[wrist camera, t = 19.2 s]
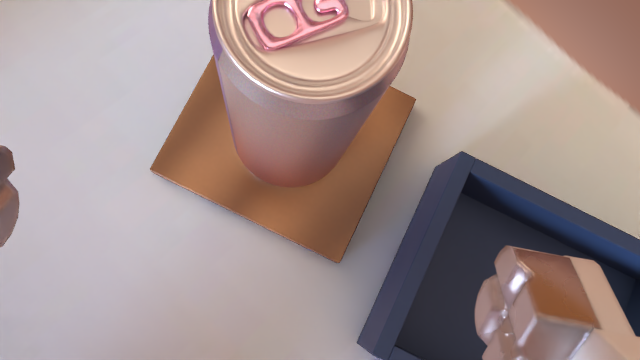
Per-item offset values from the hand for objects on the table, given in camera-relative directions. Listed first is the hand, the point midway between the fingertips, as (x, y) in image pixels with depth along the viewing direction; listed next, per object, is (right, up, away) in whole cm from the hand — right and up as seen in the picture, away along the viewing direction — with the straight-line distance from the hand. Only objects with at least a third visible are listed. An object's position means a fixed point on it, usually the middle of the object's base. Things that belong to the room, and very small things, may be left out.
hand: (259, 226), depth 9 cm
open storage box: (+11, -6, +22) cm, 25 cm away
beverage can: (-1, +3, +21) cm, 21 cm away
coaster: (-1, +3, +22) cm, 22 cm away
